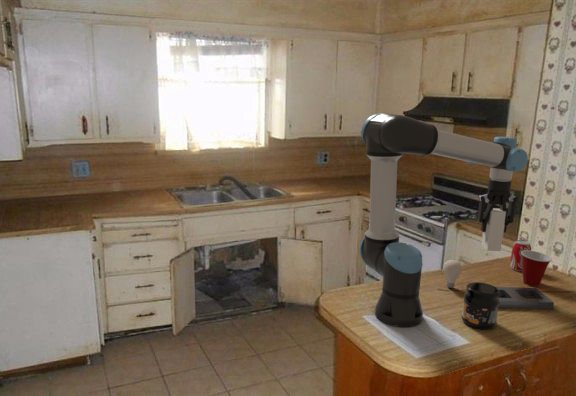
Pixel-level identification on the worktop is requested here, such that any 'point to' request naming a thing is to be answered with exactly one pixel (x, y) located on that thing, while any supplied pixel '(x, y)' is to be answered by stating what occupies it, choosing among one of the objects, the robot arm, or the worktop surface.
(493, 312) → the supplement container
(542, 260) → the plastic cup
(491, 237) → the square post
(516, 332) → the worktop surface
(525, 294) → the rail plate
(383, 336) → the worktop surface
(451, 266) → the light bulb
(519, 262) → the soda can
